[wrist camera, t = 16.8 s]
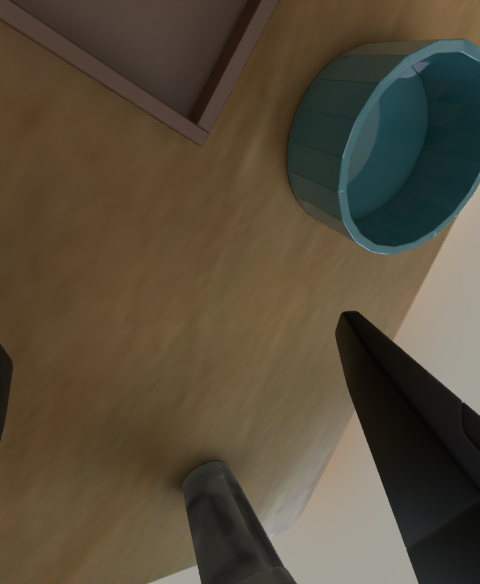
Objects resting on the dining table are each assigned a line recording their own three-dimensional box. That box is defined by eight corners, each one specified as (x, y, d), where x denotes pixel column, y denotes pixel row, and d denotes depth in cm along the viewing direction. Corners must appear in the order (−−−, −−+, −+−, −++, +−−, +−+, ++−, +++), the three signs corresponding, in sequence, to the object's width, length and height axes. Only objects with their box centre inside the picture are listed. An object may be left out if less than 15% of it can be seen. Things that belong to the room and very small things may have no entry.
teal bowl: (253, 137, 20) (303, 156, 16) (397, -6, 19) (486, -22, 15) (332, 252, 26) (381, 286, 22) (442, 149, 25) (512, 165, 21)
